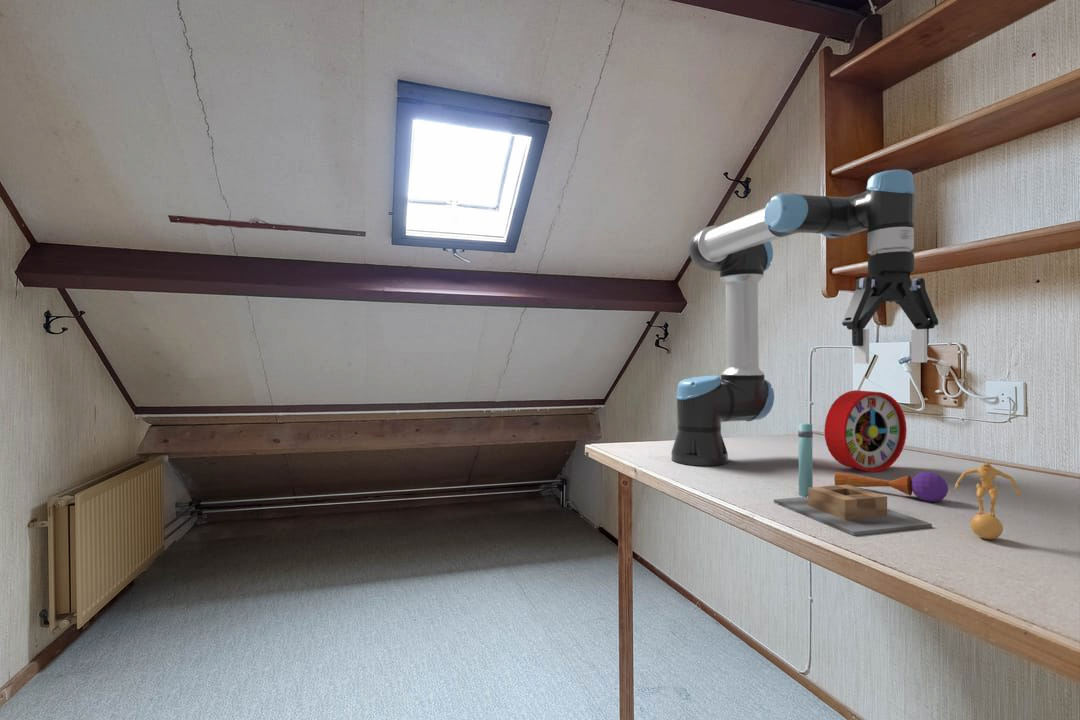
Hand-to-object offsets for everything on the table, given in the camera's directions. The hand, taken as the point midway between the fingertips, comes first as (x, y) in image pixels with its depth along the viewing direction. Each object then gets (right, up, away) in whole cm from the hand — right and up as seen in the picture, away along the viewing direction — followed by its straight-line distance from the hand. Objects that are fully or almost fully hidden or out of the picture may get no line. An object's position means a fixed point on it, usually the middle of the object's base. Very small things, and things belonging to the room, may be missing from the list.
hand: (890, 363), depth 103 cm
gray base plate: (-11, -28, -4) cm, 31 cm away
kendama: (+5, -28, +9) cm, 30 cm away
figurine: (+4, -28, -17) cm, 33 cm away
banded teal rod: (-12, -28, +9) cm, 32 cm away
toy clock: (+14, -28, +31) cm, 44 cm away
